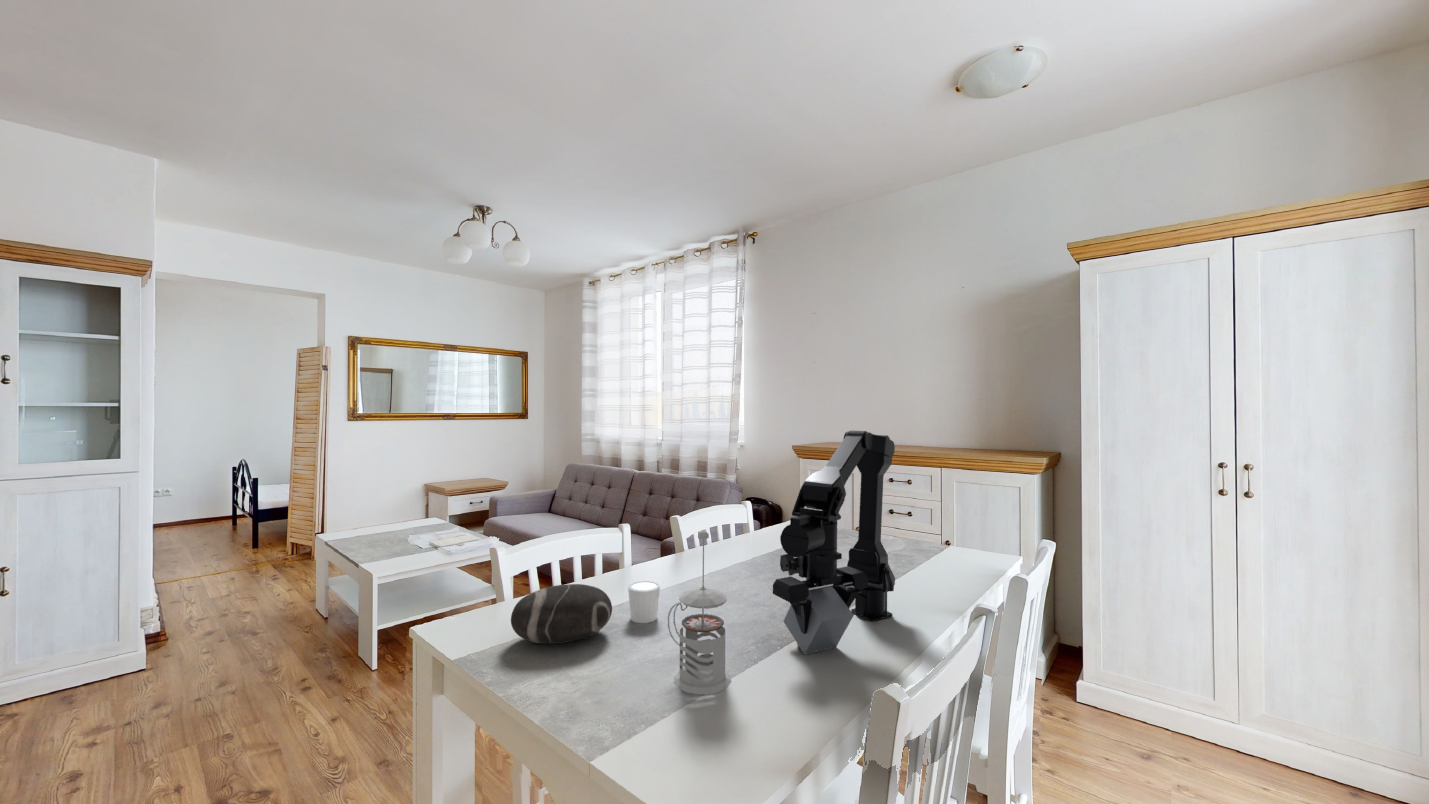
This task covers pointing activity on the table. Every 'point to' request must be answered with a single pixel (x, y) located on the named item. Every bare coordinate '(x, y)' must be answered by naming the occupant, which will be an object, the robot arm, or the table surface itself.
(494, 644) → the table surface
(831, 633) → the grey matte cube
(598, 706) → the table surface
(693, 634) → the french press
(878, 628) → the table surface
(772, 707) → the table surface
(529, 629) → the decorative stone
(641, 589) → the white tapered cup
